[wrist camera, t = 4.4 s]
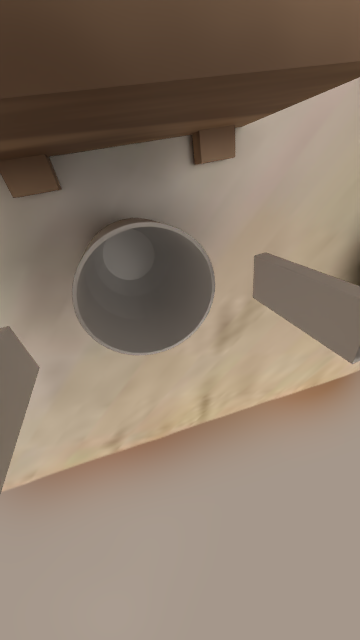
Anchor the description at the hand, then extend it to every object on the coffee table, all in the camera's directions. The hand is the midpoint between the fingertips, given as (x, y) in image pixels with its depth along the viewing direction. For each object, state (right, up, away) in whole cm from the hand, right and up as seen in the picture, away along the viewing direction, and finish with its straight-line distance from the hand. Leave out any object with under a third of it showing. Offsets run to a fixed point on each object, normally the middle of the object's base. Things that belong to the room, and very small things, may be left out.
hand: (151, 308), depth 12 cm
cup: (-3, +6, +9) cm, 11 cm away
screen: (-3, +13, +4) cm, 14 cm away
